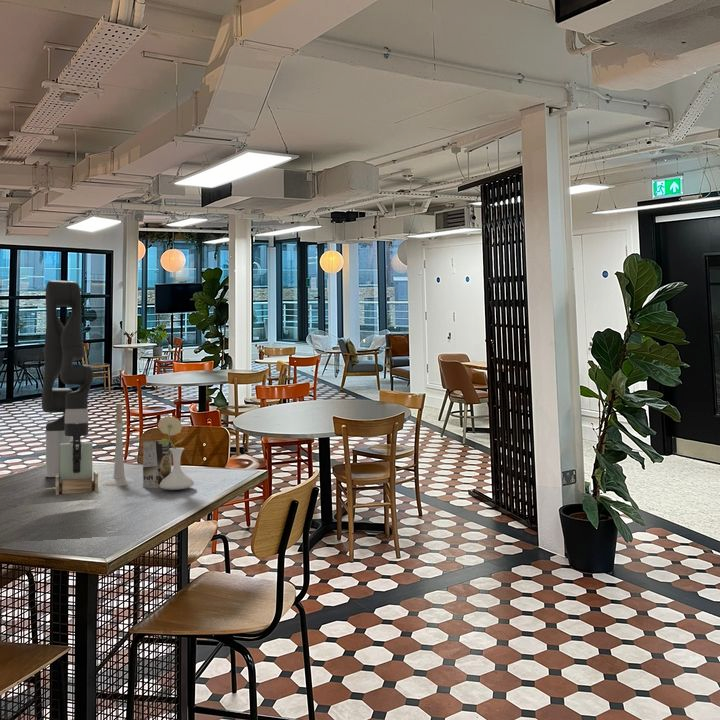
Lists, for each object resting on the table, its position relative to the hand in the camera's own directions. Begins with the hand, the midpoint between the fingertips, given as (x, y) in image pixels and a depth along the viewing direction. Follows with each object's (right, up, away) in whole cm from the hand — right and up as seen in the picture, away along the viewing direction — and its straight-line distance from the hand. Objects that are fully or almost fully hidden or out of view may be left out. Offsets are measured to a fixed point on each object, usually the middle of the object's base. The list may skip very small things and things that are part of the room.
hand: (76, 471), depth 216 cm
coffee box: (+26, -6, +5) cm, 28 cm away
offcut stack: (+2, -6, -5) cm, 8 cm away
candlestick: (+11, -7, +10) cm, 16 cm away
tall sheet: (0, -6, 0) cm, 6 cm away
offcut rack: (+1, -6, -3) cm, 7 cm away
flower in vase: (+35, -5, -3) cm, 36 cm away
